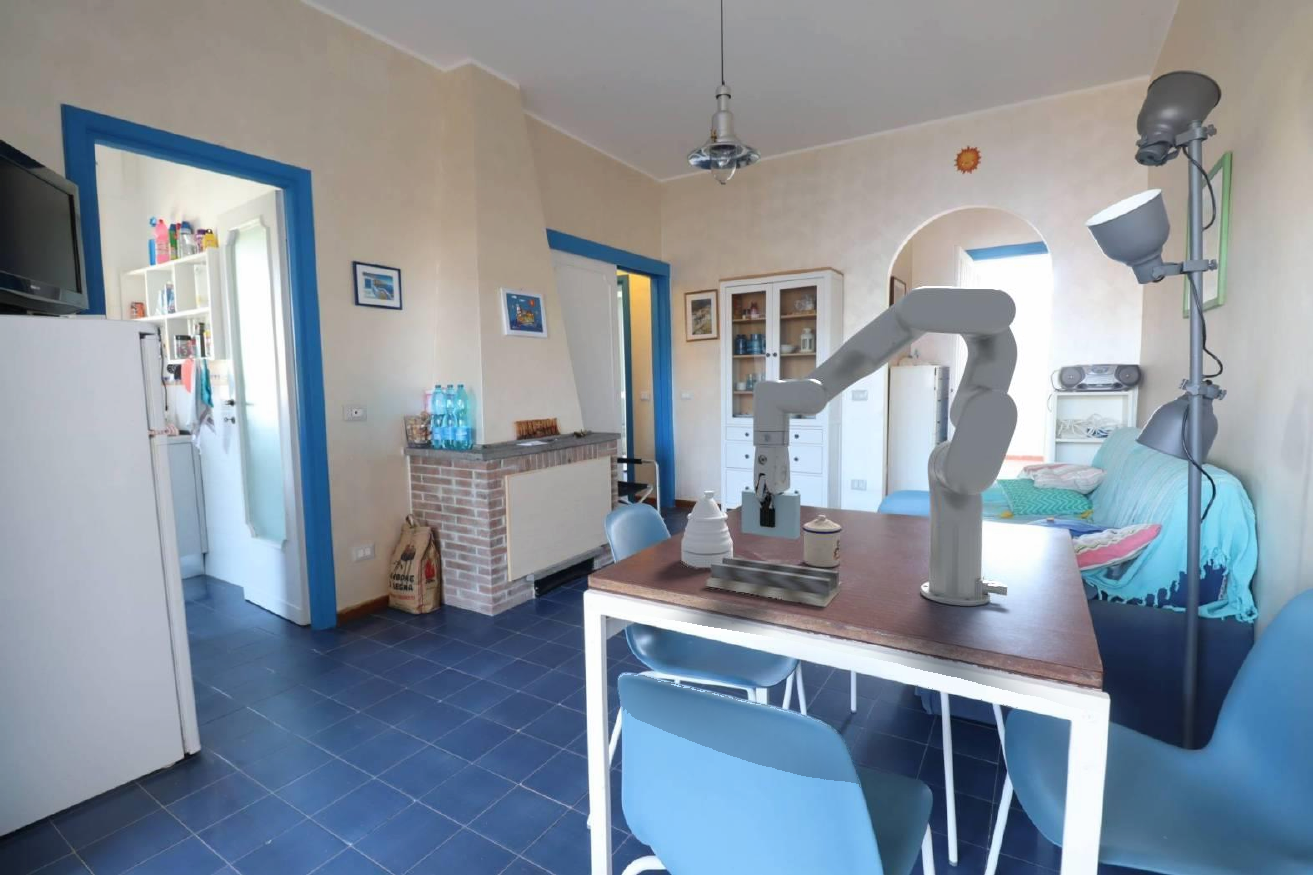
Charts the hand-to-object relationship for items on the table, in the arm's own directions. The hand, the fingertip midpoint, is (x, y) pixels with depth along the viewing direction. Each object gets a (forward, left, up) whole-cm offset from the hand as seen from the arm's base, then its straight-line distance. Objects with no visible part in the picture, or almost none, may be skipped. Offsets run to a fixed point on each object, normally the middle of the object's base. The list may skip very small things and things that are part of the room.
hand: (770, 524), depth 131 cm
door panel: (0, 0, -2) cm, 2 cm away
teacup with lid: (-3, -25, -14) cm, 29 cm away
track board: (0, 0, -14) cm, 14 cm away
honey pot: (+22, -12, -14) cm, 29 cm away
